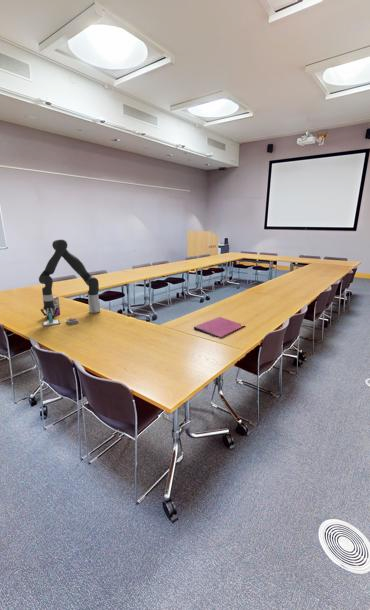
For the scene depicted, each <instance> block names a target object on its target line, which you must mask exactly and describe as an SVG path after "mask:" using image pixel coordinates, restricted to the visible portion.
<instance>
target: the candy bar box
mask: <svg viewBox="0 0 370 610" xmlns="http://www.w3.org/2000/svg"><path fill="white" fill-rule="evenodd" d="M59 298H60V297H59V296H53V302H54V306H55V307H58V310H57V313H56V314H55V315H54V317H55V316H58V315H61V310H60V308H61V307H60V300H59ZM54 312H55V308H54V310H53V313H54Z"/></svg>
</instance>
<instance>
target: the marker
mask: <svg viewBox="0 0 370 610" xmlns="http://www.w3.org/2000/svg"><path fill="white" fill-rule="evenodd" d="M48 316H49V320H48V321H49V323H52V322H53V320H54V319H53V318H52V312H51V310H50V311H48Z"/></svg>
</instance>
